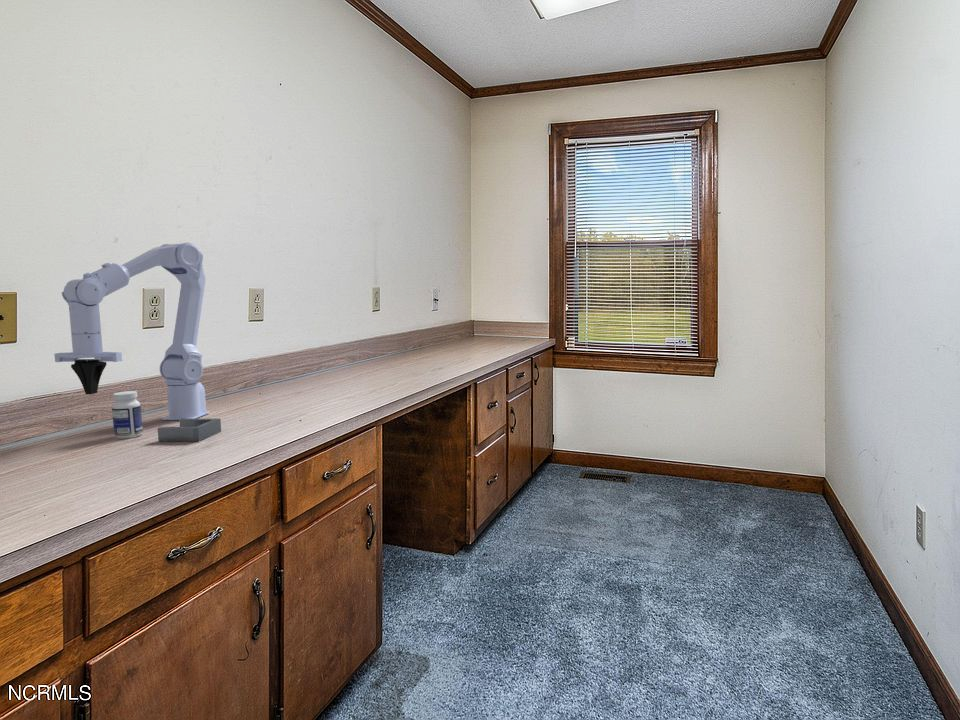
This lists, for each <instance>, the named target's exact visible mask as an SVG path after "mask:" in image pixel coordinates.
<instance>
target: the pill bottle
mask: <svg viewBox="0 0 960 720" xmlns="http://www.w3.org/2000/svg"><path fill="white" fill-rule="evenodd" d="M112 396H113V400H114V403H112V405H111V415H112V424H113V435H114V437H115V438H116V439H120V440H121V439H122V440H123V439H133V438H136V437H137V438H138V437H140V436H142V435H143V433H144V428H143V427H144V426H143V418H142V406H141V405H142V404H141V402H140V401H138V400H137V398H138V392H137V391H135V390H127V391H118V392H116V393H113V395H112Z"/></svg>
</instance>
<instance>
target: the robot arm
mask: <svg viewBox="0 0 960 720" xmlns="http://www.w3.org/2000/svg"><path fill="white" fill-rule="evenodd" d="M203 261H204V254H203V253H202V252H201V250H200V249H199V248H198V246H196V245H195V244H193V242H192V243H191V242H183V243H172V244H171V243H169V244H168V243H165V244H162V245H160V246H156V247H153V248H151V249H149V250H147V251H146V252H144V253H142V254H140V255H138V256H135V258H133V259H131V260H129V261H127V262H125V263H123V264H118V263H114V262H113V263H110V262H105V263H103V264H101V267H102V268H99V269H97V270H95V271H92V272H91V273H90V272H86V273H83V275H82V276H83V277H82V278H81V279H80V278H79V279H71V280H69V281H67V283H65V284H66V285H64V288H63V291H62V292H61V296H62V298H63V300H64V301H65V302H66V303H67V305H68V312H69V313H68V314H69V323H70V325H69V326H70V334H71V345H72V346H71V348H72V352H58V353H57V352H55V353H54V362H55V363H61V362H62V363H64V362H71V364H70V368H71V369H72V371H73V372H74V373H75V375H77V377H78V379H79V381H80V383H81V385H82V389H83V391H84V393H85V395H94V394H98V390H99V385H100V380H101V377H102V375H103V372H104V370H105V368H106V366H107V362H113V363H117V362H123V356H122V355H123V354H122V352H116V351H115V352H113V351H103V339H102V338H103V337H102V328H101V327H102V325H101V315H100V303H101V302H102V301H103V299H104V298H105V297H107V296H109V295H110V294H112V293H115V292H116V291H119V290H120V289H122V288H125V287H127V286H128V285H129V283H130V278H132V277H135V276H136V275H140V274H142V273H144V272H146V271H148V270H151V269H152V268H155V267H161V268H163V269H164V270H165V271H167V272H169V273H170V274H172V276H174V277H175V278H176V279H177V280H178V281H179V283H180V290H179V297H178V306H177V311H176V318H175V324H174V329H173V330H174V331H173V339H172V344H171V345H170V346H169V347H168V348H166V349H167V350H165V351H164V352H165V354H164V356H163V357H164V358H163V359H162V361H161V362H160V365H159V373H160V376H161V377H162V378H163V379H164V380H165V384H166V393H167V406H168V407H167V408H168V415H167V416H165V417H161V420H162V421H179V420H180V419H182V418H193V419H199V418H201V417H204V416H206V415H208V414H210V411H209V410H208V411H207V402H206V389H205V387H204V385H203V384H202V383H201V382H200V379H201V378H202V376H203V373H204V366H203V363H202V358H203V357H202V356H203V355H202V352H200V350H199V349H198V348H197V342H198V335H199V328H200V322H201V321H200V320H201V315H202V314H201V313H202V308H203V299H204V295H205V294H204V293H205V288H206V287H205V285H206V276H205V275H206V274H205V272H204V266H203ZM72 362H74V363H72Z"/></svg>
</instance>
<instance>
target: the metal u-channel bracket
mask: <svg viewBox="0 0 960 720" xmlns="http://www.w3.org/2000/svg"><path fill="white" fill-rule="evenodd" d="M178 421H179V426H159V427H157V439H158V442H159V441H182V442H184V443H185V442H187V441H189V442H191V441H192V442H191V443H194V442H196V443H198V442H199V441H200V442H202V441H205V439H208V438H211V437H212V436H214V435H216V434H218V433H221V432H222V422H221V418H196V419H193V418H182V419H180V420H178ZM201 440H202V441H201ZM197 441H198V442H197ZM189 442H188V443H189ZM200 442H199V443H200Z"/></svg>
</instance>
